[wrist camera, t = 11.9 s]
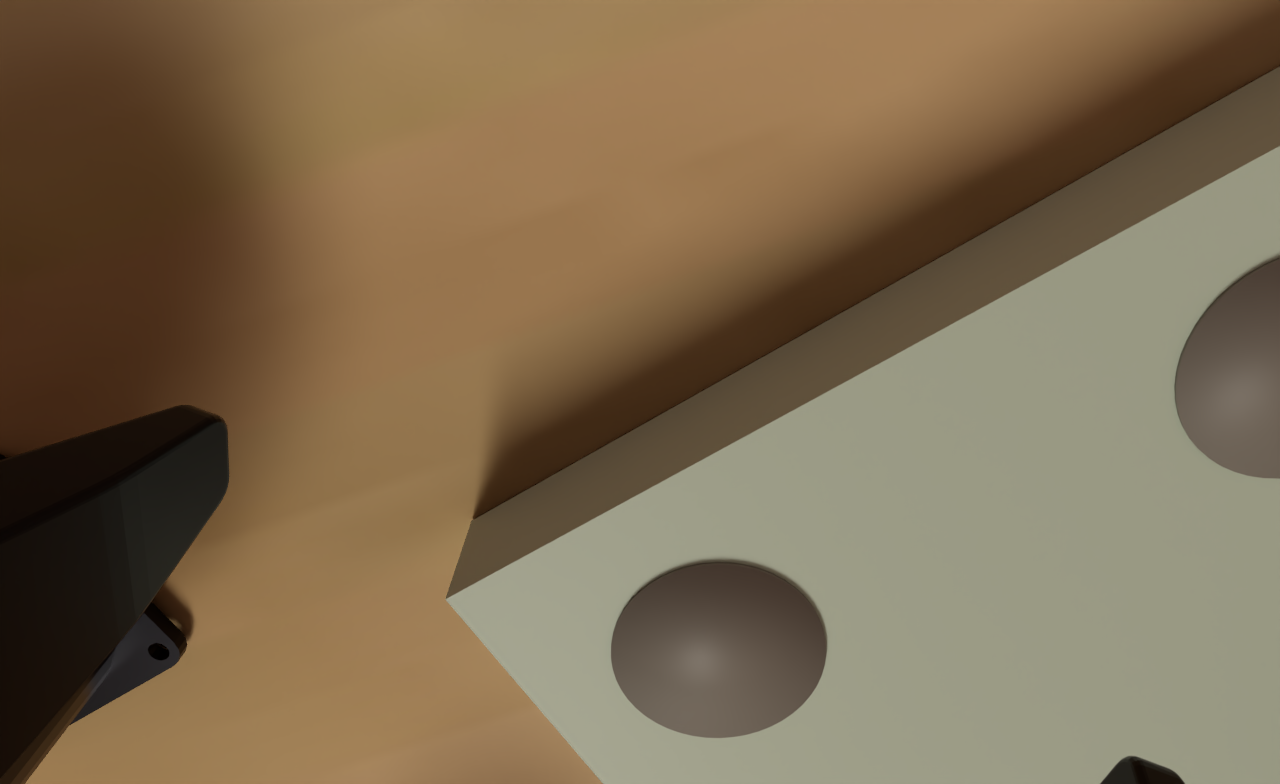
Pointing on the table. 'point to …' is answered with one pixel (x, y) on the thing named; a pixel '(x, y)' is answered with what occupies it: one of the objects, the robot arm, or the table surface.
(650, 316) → the table surface
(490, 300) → the table surface
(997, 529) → the seat board
